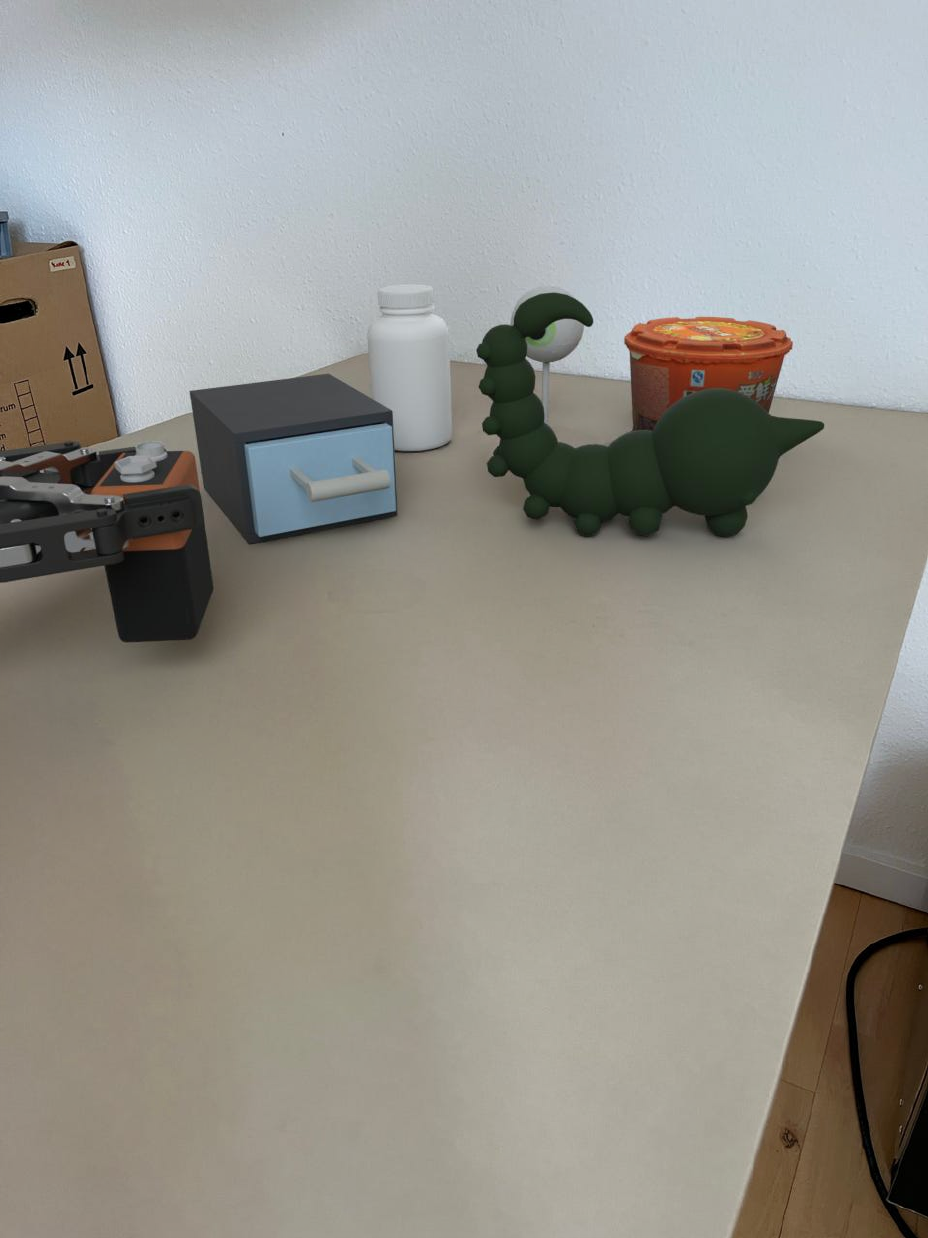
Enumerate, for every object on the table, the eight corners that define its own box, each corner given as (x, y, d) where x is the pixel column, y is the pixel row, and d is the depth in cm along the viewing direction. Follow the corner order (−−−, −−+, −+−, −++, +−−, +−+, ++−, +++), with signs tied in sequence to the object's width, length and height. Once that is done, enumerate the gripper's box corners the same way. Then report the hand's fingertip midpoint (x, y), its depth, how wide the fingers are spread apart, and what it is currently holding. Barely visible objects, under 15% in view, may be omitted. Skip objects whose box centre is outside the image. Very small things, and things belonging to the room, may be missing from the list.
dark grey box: (397, 515, 78) (392, 410, 74) (248, 544, 73) (234, 433, 69) (336, 466, 89) (328, 373, 85) (203, 488, 84) (189, 390, 80)
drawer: (426, 534, 72) (423, 445, 68) (282, 564, 67) (271, 470, 64) (338, 465, 87) (332, 389, 84) (215, 485, 82) (204, 406, 79)
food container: (811, 441, 94) (829, 331, 89) (700, 472, 86) (713, 353, 81) (693, 408, 106) (703, 309, 101) (585, 432, 98) (591, 326, 93)
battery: (117, 646, 52) (82, 473, 47) (144, 593, 58) (116, 435, 53) (197, 643, 52) (170, 470, 48) (216, 590, 58) (193, 433, 54)
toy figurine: (486, 559, 74) (824, 555, 68) (461, 309, 65) (845, 280, 59) (506, 516, 82) (809, 509, 76) (486, 288, 73) (826, 261, 68)
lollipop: (499, 445, 94) (500, 289, 87) (521, 427, 100) (523, 278, 93) (568, 452, 92) (575, 292, 85) (586, 432, 98) (594, 281, 91)
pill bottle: (363, 436, 98) (353, 285, 91) (435, 426, 101) (430, 279, 94) (388, 457, 91) (380, 296, 84) (464, 446, 94) (462, 290, 87)
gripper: (-126, 553, 53) (167, 506, 60) (-140, 665, 42) (224, 592, 48) (-167, 422, 50) (149, 388, 56) (-195, 506, 38) (205, 450, 45)
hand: (183, 482), depth 52 cm, fingers closed on battery, 8 cm apart
